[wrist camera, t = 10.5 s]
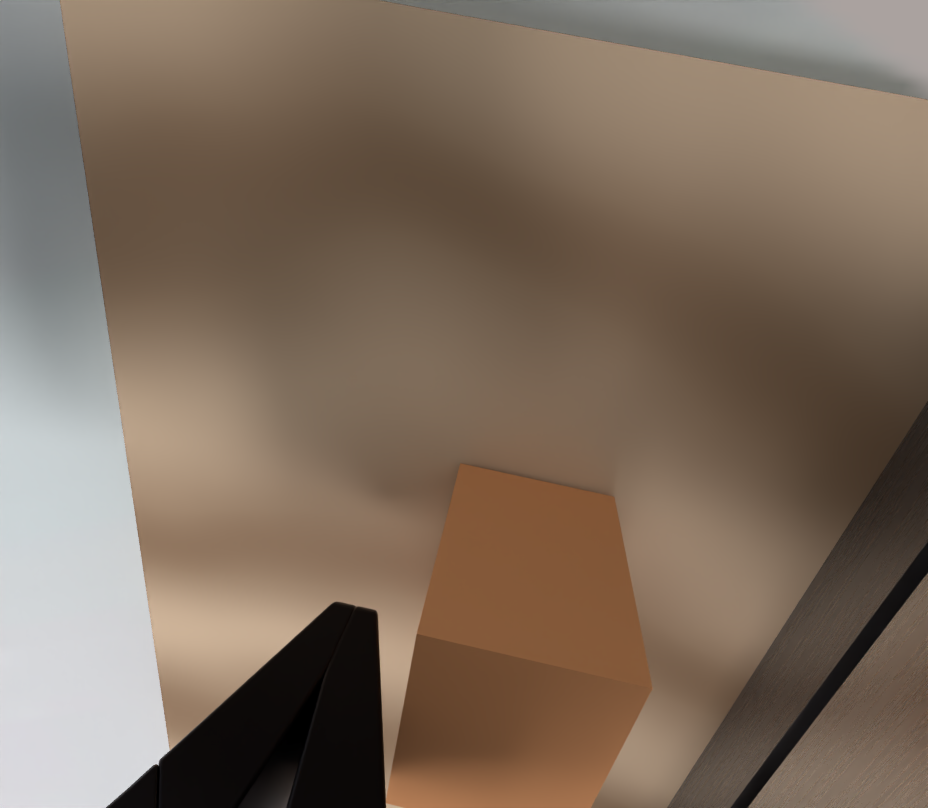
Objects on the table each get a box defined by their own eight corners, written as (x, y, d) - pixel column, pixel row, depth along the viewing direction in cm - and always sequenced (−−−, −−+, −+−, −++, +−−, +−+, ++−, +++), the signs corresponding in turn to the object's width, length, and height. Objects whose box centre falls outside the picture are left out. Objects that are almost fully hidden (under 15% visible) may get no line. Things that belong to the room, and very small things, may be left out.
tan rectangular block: (562, 638, 12) (569, 848, 8) (431, 608, 12) (385, 803, 9) (614, 497, 10) (652, 688, 7) (460, 463, 10) (416, 634, 7)
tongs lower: (1042, 139, 7) (1910, 138, 3) (1331, 192, 7) (2782, 288, 2) (614, 854, 16) (641, 1136, 11) (736, 884, 16) (812, 1180, 11)
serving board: (713, 882, 18) (724, 929, 17) (197, 755, 19) (176, 792, 18) (1285, 178, 8) (1401, 185, 7) (112, -35, 9) (51, -60, 7)
